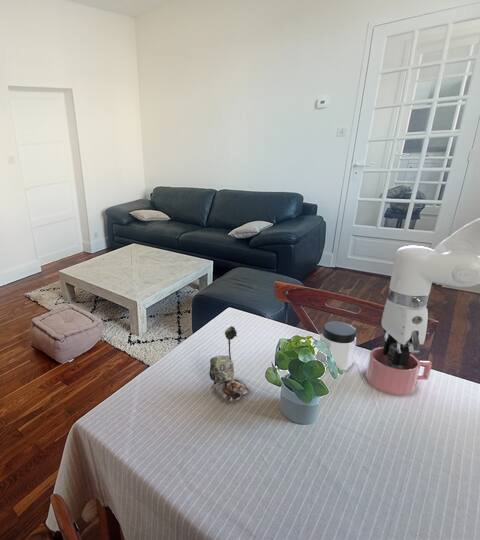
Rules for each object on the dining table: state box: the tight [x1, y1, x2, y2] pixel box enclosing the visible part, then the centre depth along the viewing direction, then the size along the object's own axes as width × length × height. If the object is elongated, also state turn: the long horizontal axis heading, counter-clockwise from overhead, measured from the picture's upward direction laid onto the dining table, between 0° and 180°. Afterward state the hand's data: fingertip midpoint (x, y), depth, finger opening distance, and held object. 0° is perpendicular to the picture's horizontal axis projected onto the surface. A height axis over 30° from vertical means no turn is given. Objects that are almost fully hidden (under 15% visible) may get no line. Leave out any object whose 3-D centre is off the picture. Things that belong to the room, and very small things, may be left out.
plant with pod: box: [208, 325, 249, 402], centre depth 91 cm, size 8×11×20 cm
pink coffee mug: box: [365, 346, 433, 396], centre depth 90 cm, size 14×10×8 cm
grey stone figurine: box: [381, 341, 405, 370], centre depth 89 cm, size 6×6×12 cm
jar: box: [317, 320, 357, 371], centre depth 99 cm, size 9×8×12 cm
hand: (394, 358), depth 89 cm, fingers closed on grey stone figurine, 3 cm apart
